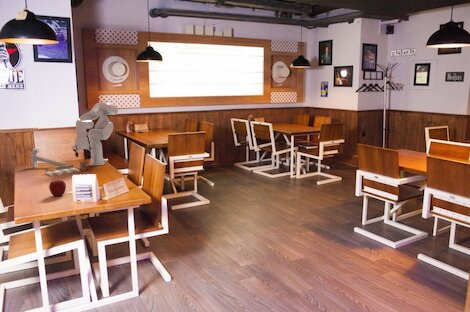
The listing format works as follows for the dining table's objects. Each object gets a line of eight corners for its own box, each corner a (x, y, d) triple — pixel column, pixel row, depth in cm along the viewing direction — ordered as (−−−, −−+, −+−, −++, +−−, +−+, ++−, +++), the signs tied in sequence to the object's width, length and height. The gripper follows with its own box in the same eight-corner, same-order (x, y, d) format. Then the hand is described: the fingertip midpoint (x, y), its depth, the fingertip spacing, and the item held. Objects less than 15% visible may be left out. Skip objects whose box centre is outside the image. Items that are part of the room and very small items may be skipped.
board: (73, 169, 322) (72, 167, 321) (79, 171, 314) (79, 169, 313) (45, 173, 306) (45, 171, 306) (51, 176, 298) (51, 173, 298)
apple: (64, 192, 249) (62, 177, 248) (68, 195, 242) (67, 180, 240) (48, 195, 243) (46, 180, 242) (52, 198, 236) (51, 182, 234)
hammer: (68, 156, 331) (35, 148, 332) (65, 157, 326) (31, 148, 328) (65, 173, 334) (32, 165, 335) (62, 174, 329) (29, 166, 331)
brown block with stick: (85, 168, 326) (84, 161, 325) (90, 170, 319) (90, 163, 318) (80, 169, 323) (79, 162, 322) (86, 170, 316) (85, 163, 315)
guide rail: (73, 167, 321) (72, 164, 321) (73, 167, 320) (73, 165, 320) (45, 171, 306) (45, 169, 305) (46, 171, 305) (45, 169, 305)
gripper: (89, 134, 326) (90, 154, 329) (69, 136, 314) (70, 157, 316) (93, 135, 321) (94, 155, 324) (73, 136, 309) (74, 157, 311)
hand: (82, 156), depth 320 cm, fingers open, 9 cm apart
